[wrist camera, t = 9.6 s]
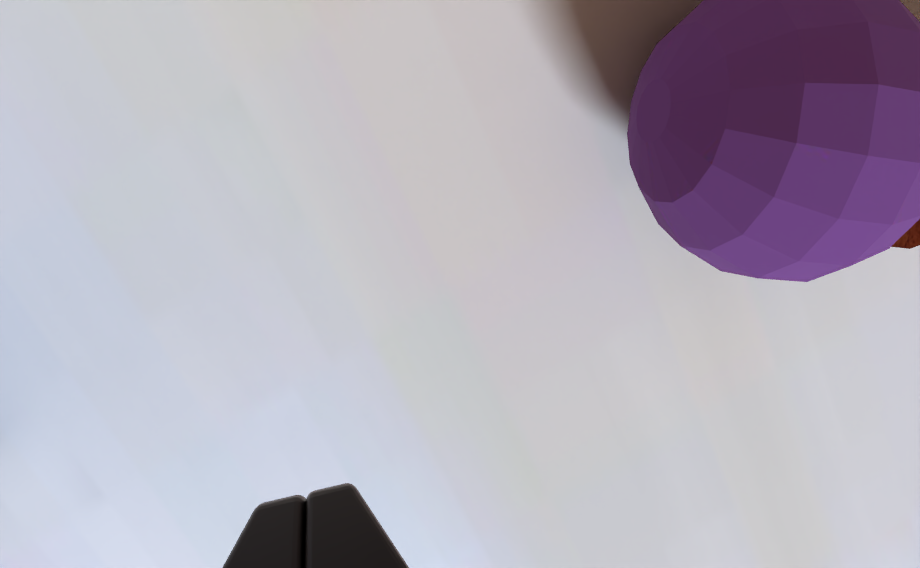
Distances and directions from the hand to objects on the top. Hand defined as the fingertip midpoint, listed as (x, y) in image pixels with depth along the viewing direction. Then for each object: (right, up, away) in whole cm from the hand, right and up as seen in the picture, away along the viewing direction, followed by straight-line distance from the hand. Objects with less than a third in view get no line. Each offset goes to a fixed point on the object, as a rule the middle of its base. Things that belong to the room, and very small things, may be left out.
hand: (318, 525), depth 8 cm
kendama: (+14, +6, +14) cm, 21 cm away
